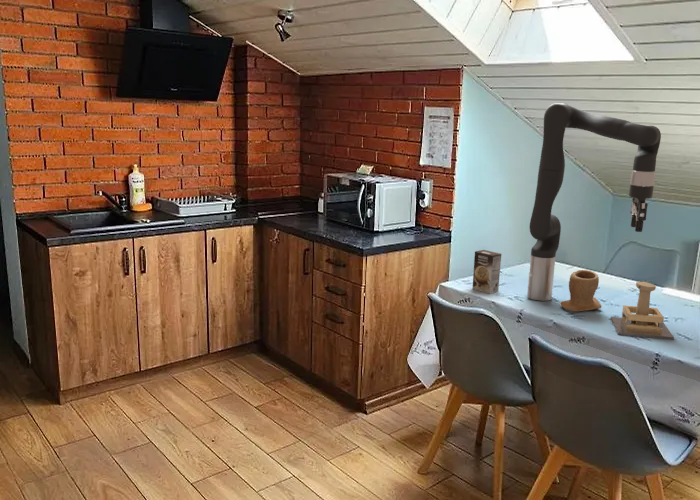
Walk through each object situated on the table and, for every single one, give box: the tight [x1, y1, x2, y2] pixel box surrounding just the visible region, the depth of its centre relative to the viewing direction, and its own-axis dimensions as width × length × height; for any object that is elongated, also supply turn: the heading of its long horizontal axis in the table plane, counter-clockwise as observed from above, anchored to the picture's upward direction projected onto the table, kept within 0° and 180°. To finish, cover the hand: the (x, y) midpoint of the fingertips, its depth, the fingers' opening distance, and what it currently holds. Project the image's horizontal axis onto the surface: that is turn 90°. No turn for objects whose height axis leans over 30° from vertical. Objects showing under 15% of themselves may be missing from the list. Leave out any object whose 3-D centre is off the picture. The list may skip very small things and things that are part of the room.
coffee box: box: [472, 249, 502, 295], centre depth 251 cm, size 9×6×16 cm
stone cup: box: [559, 269, 602, 312], centre depth 228 cm, size 15×12×15 cm
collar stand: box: [610, 305, 675, 341], centre depth 209 cm, size 17×16×6 cm
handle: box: [635, 281, 657, 325], centre depth 208 cm, size 5×6×15 cm
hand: (636, 229), depth 218 cm, fingers open, 8 cm apart
